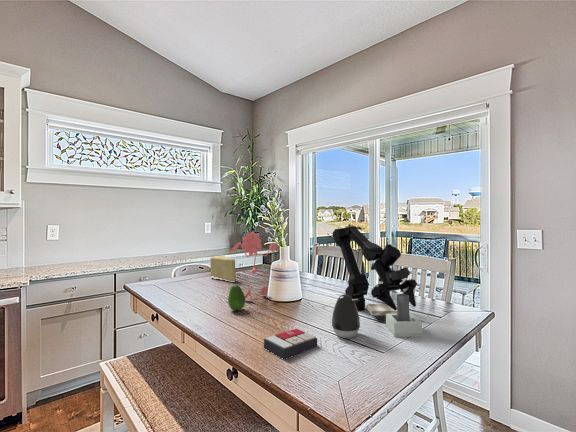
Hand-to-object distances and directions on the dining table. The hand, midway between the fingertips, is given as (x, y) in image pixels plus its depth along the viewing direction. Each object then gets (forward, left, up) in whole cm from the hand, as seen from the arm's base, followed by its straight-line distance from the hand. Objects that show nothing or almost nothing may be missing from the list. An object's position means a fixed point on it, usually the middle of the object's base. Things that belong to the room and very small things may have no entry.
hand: (405, 308), depth 119 cm
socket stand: (0, +1, -9) cm, 9 cm away
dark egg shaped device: (-22, -2, -9) cm, 24 cm away
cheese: (-85, +89, -9) cm, 123 cm away
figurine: (-62, +48, -9) cm, 79 cm away
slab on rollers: (-2, +16, -9) cm, 19 cm away
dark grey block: (-1, +1, -8) cm, 8 cm away
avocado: (-67, +28, -9) cm, 74 cm away
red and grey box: (-43, -11, -10) cm, 45 cm away
